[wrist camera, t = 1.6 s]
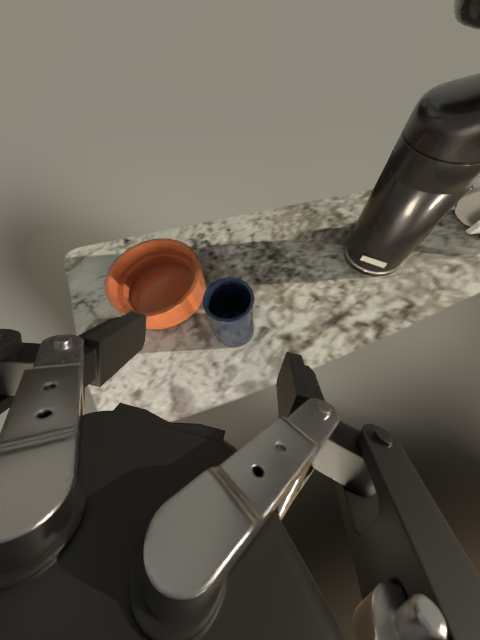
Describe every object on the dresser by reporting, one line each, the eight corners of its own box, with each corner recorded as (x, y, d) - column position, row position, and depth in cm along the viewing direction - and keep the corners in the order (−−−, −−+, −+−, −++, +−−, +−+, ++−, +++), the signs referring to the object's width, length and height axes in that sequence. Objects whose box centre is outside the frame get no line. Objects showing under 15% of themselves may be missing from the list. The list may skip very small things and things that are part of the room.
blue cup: (240, 304, 36) (235, 269, 28) (262, 333, 33) (264, 303, 25) (208, 324, 35) (193, 293, 26) (228, 355, 32) (219, 331, 24)
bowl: (182, 247, 42) (174, 225, 37) (222, 300, 36) (217, 282, 32) (111, 284, 39) (93, 266, 34) (142, 347, 34) (125, 335, 29)
